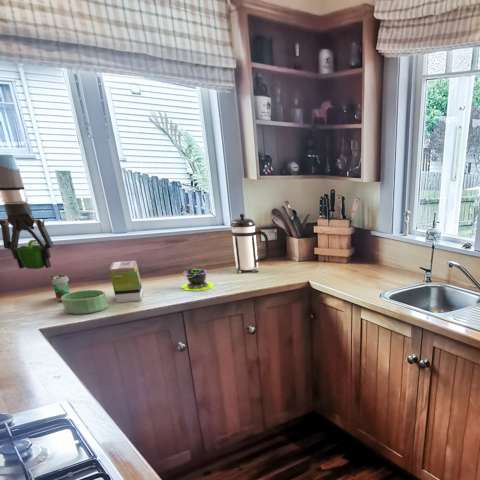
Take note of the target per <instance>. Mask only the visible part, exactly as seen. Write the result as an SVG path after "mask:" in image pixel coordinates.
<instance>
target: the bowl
mask: <svg viewBox="0 0 480 480" xmlns="http://www.w3.org/2000/svg"><path fill="white" fill-rule="evenodd" d="M61 300H62V302H61V303H62V307H63V310H64V312H65V313H68V314H74V315H84V314H86V315H87V314H92V313H96V312H100V311H103V310H105V309H107V308H108V307H109V302H108V299H107V294H106V292H105V291H104V290H101V289H83V290H77V291H76V290H75V291H73V292H72V291H71V292H69V293H68V294H65V295H63V296H62V297H61Z"/></svg>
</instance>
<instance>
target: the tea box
mask: <svg viewBox="0 0 480 480" xmlns="http://www.w3.org/2000/svg"><path fill="white" fill-rule="evenodd" d="M137 263H138V262H137V260H125V261H112V262H111V264H110V267H109V268H108V272H109V276H110V281H111V285H112V289H113V292H114V296H115V300H116V303H118V304H119V303H130V302H140V301H142V300H143V294H144V289H143V285H142V281H141V276H140V273H139V268H138V267H139V266H138V264H137Z"/></svg>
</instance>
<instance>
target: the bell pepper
mask: <svg viewBox="0 0 480 480" xmlns="http://www.w3.org/2000/svg"><path fill="white" fill-rule="evenodd" d="M33 243H37V241H36V240H35V239H30V240H29V241H28V243H27V245H28V246H26V245H21V246H20V247H17V248H18V249H17V253H18V255H19V258H20V260H21V261H22V263H23V264H24V266H25V267H24V268H25V269H31V270H39V269H42V268H44V267H45V264H44V261H43V257H42V254H41V250H42V248H41V246H40V245H39V244H33Z"/></svg>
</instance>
